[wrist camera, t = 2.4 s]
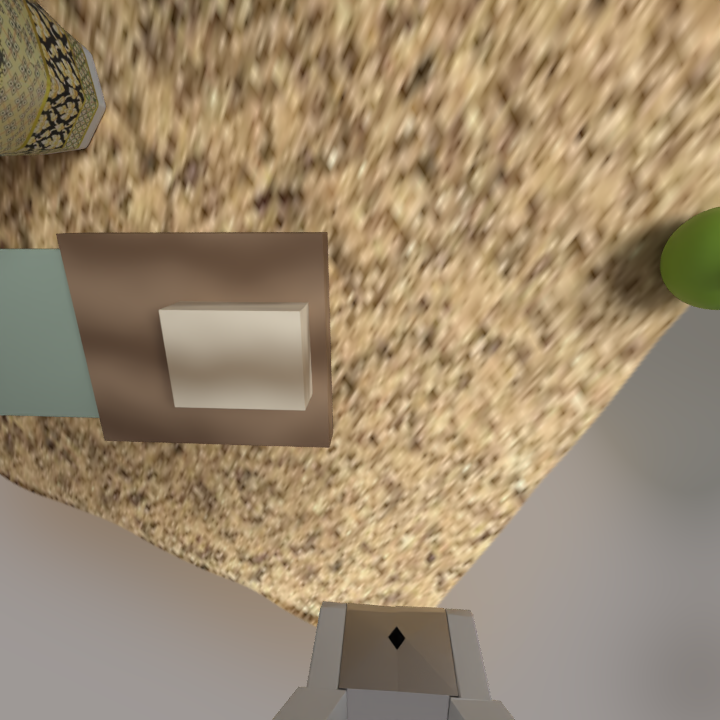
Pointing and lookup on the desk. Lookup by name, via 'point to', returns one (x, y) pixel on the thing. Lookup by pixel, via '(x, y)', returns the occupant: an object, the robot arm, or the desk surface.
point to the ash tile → (238, 354)
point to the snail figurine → (694, 261)
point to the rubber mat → (40, 339)
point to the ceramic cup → (44, 84)
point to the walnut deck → (195, 284)
